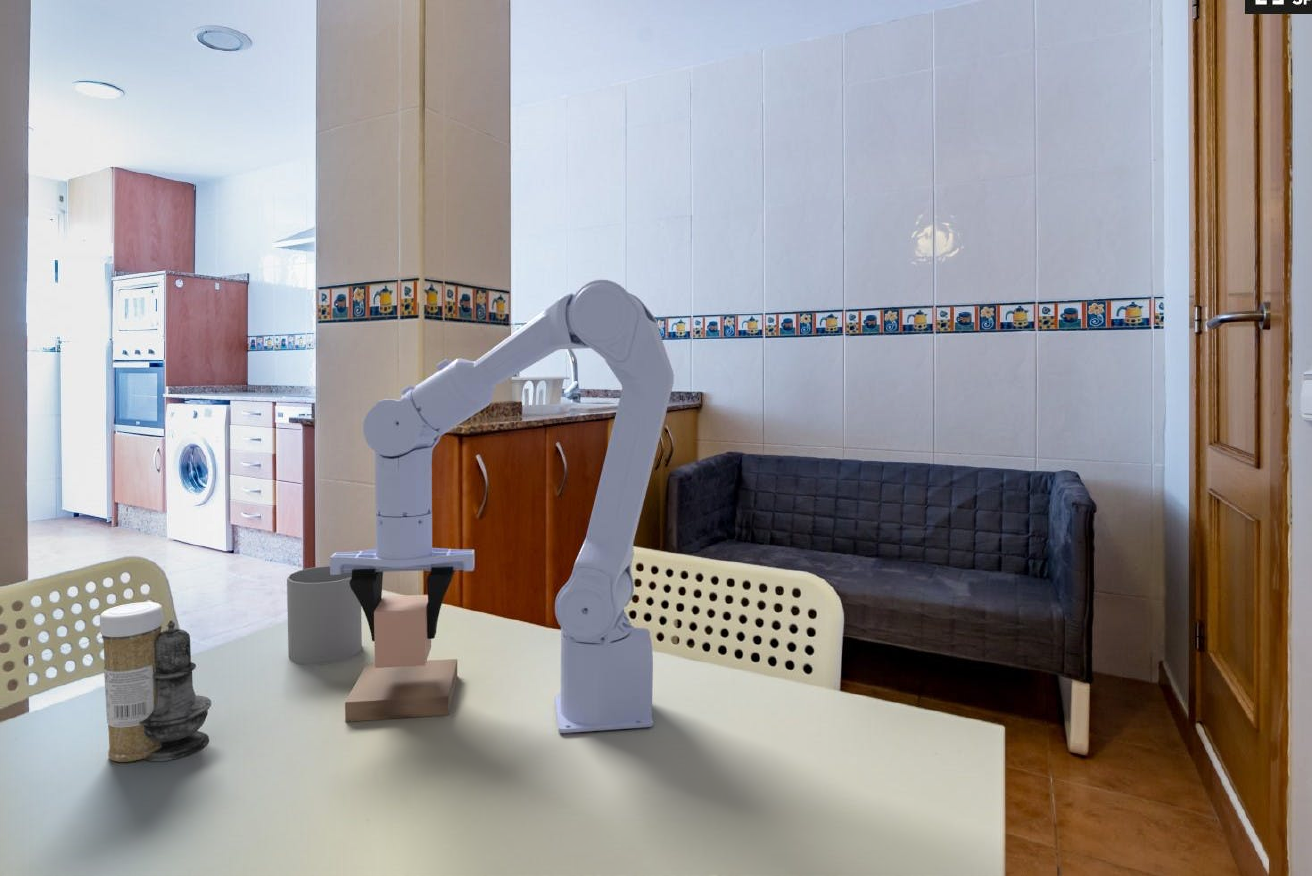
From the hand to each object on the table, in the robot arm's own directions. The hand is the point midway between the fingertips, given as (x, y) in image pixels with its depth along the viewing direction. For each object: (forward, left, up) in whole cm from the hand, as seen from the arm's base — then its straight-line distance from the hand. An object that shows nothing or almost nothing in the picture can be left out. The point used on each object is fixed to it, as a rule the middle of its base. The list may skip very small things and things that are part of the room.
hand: (404, 636), depth 76 cm
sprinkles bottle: (+22, +8, -7) cm, 25 cm away
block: (0, +1, -2) cm, 2 cm away
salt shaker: (+19, +8, -7) cm, 22 cm away
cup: (+12, -15, -7) cm, 20 cm away
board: (0, 0, -7) cm, 7 cm away
